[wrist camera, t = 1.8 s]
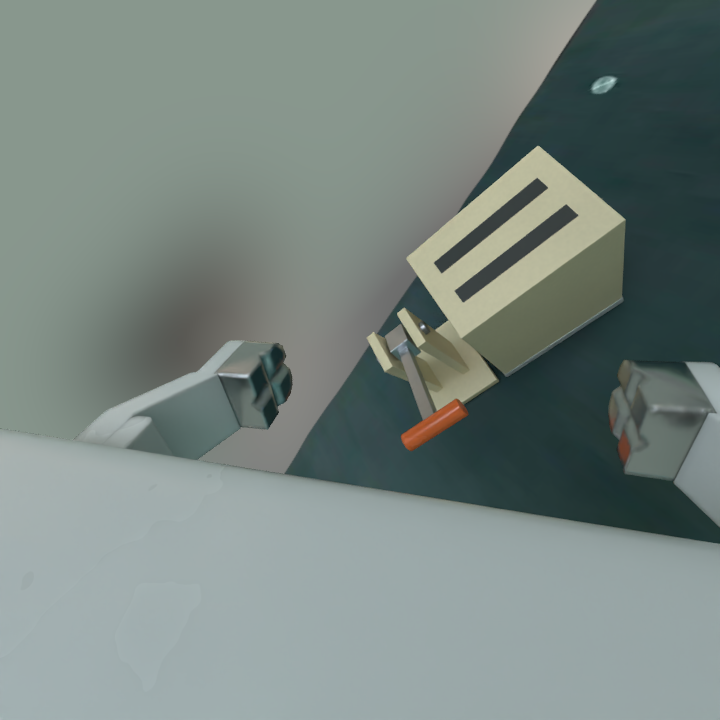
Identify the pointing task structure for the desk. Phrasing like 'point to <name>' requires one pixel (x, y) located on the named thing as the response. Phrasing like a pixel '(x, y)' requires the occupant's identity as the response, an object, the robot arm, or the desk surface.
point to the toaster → (525, 263)
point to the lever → (421, 393)
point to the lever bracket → (439, 361)
